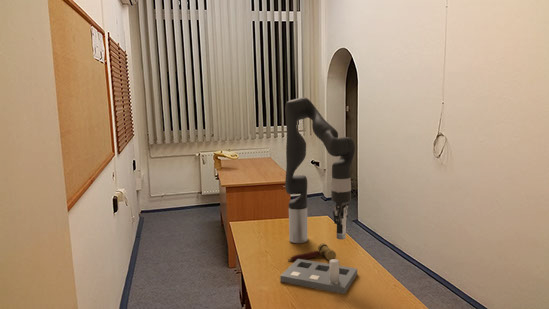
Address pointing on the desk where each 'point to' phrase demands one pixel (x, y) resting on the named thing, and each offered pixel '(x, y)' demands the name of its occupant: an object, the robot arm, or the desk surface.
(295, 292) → the desk surface
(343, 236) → the steel pin
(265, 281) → the desk surface
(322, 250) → the gavel
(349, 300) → the desk surface
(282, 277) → the pin board
